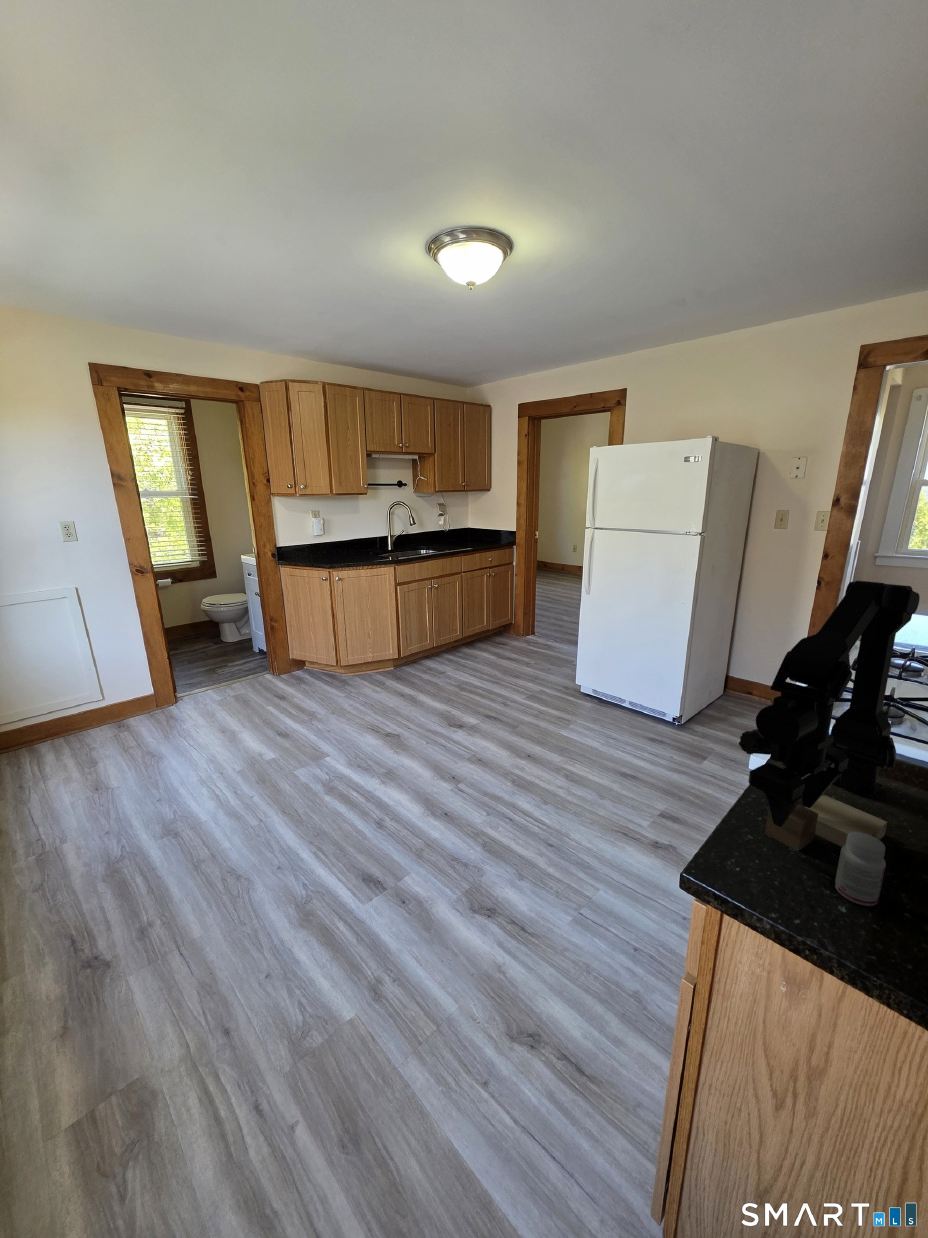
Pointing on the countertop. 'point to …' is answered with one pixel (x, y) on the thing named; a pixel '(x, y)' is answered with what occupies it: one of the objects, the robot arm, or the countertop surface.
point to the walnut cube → (794, 828)
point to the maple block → (844, 821)
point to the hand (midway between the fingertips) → (792, 815)
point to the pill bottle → (861, 869)
